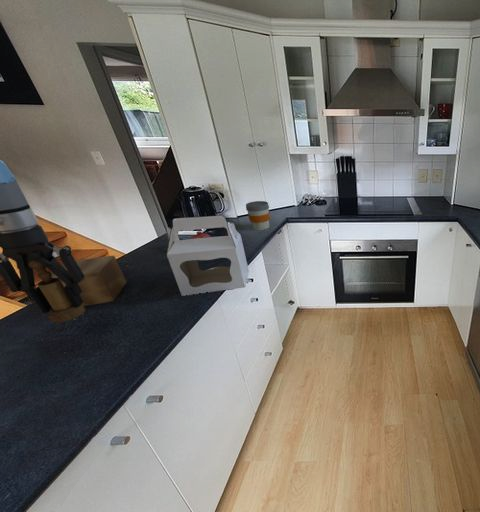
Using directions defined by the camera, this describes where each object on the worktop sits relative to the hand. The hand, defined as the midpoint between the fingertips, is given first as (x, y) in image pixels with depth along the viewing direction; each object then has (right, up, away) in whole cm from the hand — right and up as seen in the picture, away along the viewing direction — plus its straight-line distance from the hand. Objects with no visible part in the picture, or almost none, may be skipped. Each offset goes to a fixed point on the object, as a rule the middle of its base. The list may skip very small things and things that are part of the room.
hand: (64, 307), depth 75 cm
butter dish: (-5, +19, +66) cm, 69 cm away
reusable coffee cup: (+13, +31, +93) cm, 99 cm away
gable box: (+21, +3, +35) cm, 41 cm away
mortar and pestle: (0, -3, +1) cm, 3 cm away
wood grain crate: (-19, -1, +26) cm, 32 cm away
